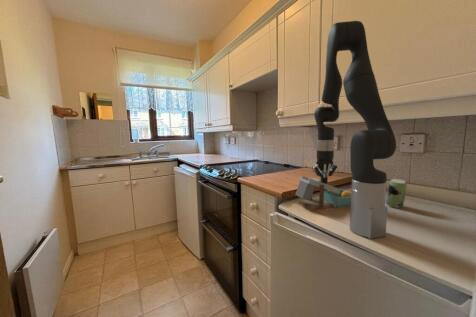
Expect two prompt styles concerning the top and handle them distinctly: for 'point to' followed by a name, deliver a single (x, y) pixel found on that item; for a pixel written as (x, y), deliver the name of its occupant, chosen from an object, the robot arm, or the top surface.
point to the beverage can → (396, 193)
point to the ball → (346, 194)
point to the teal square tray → (337, 198)
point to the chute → (312, 187)
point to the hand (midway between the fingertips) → (323, 184)
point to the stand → (316, 201)
